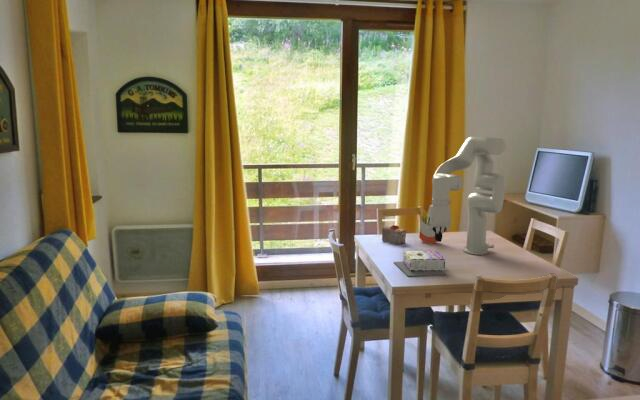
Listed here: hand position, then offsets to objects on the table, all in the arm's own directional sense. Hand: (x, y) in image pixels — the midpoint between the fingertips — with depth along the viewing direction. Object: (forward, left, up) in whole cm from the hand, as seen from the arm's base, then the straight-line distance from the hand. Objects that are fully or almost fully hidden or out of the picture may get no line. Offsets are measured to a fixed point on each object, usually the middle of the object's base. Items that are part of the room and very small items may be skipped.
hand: (438, 241), depth 225 cm
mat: (+9, 0, -13) cm, 16 cm away
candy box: (-2, 0, -10) cm, 10 cm away
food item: (+6, -46, -13) cm, 49 cm away
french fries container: (-14, -43, -13) cm, 47 cm away
